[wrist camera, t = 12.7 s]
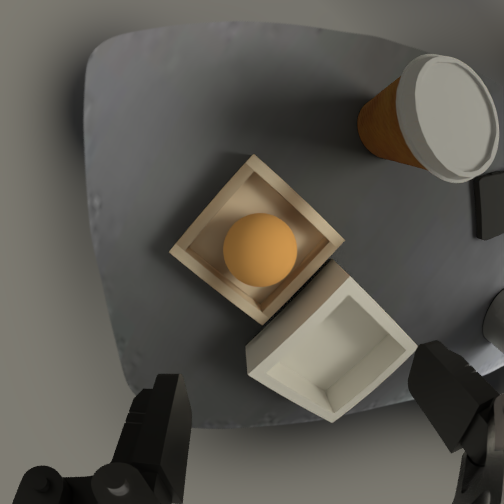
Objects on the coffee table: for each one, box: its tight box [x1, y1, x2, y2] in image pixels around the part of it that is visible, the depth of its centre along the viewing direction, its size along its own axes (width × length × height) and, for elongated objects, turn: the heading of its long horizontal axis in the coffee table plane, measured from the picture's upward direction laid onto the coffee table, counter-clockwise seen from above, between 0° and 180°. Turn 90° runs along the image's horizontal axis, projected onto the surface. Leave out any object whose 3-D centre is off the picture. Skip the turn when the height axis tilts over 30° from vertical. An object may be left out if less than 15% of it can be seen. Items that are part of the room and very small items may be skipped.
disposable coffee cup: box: [357, 54, 499, 183], centre depth 20 cm, size 10×10×12 cm
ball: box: [223, 213, 297, 287], centre depth 24 cm, size 6×6×6 cm
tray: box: [169, 154, 345, 325], centre depth 27 cm, size 11×11×2 cm
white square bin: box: [245, 259, 418, 423], centre depth 29 cm, size 13×13×5 cm
